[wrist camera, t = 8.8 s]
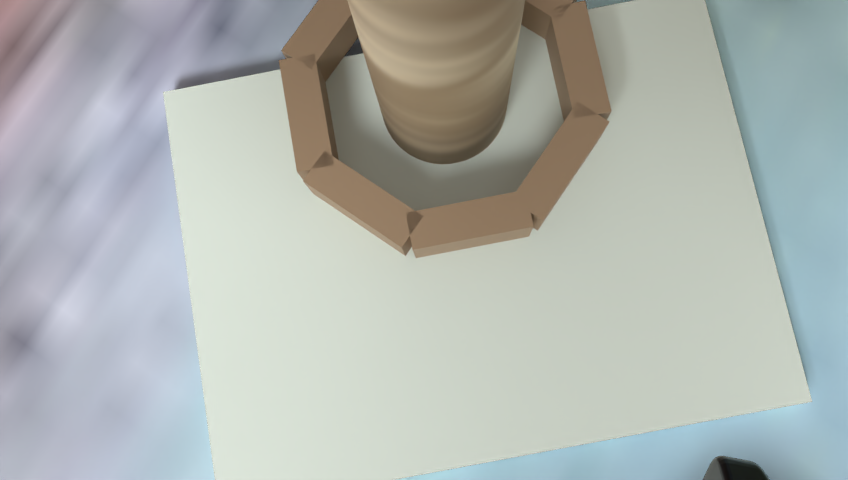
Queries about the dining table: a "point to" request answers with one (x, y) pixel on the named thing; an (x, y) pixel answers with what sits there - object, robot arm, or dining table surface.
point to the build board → (477, 255)
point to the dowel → (440, 71)
